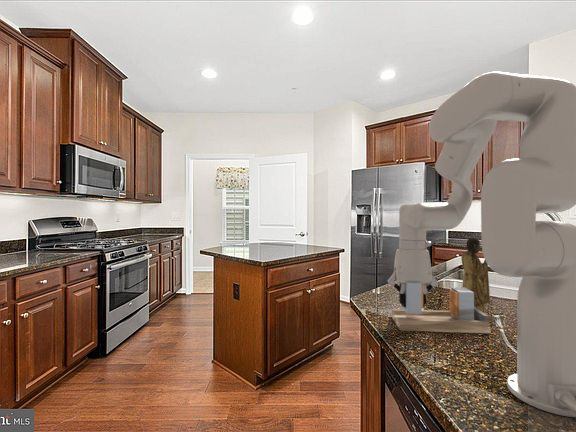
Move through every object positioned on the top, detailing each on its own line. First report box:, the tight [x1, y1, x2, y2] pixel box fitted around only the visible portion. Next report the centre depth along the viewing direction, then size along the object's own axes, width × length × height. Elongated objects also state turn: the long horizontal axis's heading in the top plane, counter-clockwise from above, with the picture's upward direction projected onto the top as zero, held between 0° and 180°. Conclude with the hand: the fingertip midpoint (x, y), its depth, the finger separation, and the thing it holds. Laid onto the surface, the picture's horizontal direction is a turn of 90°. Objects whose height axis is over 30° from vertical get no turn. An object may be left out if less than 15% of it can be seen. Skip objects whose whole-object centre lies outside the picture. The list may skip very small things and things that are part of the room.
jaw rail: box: [391, 286, 492, 334], centre depth 95 cm, size 12×24×10 cm, turn 83°
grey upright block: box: [401, 282, 424, 314], centre depth 96 cm, size 6×5×9 cm
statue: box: [460, 236, 491, 315], centre depth 106 cm, size 9×9×25 cm
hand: (412, 305), depth 96 cm, fingers closed on grey upright block, 4 cm apart
